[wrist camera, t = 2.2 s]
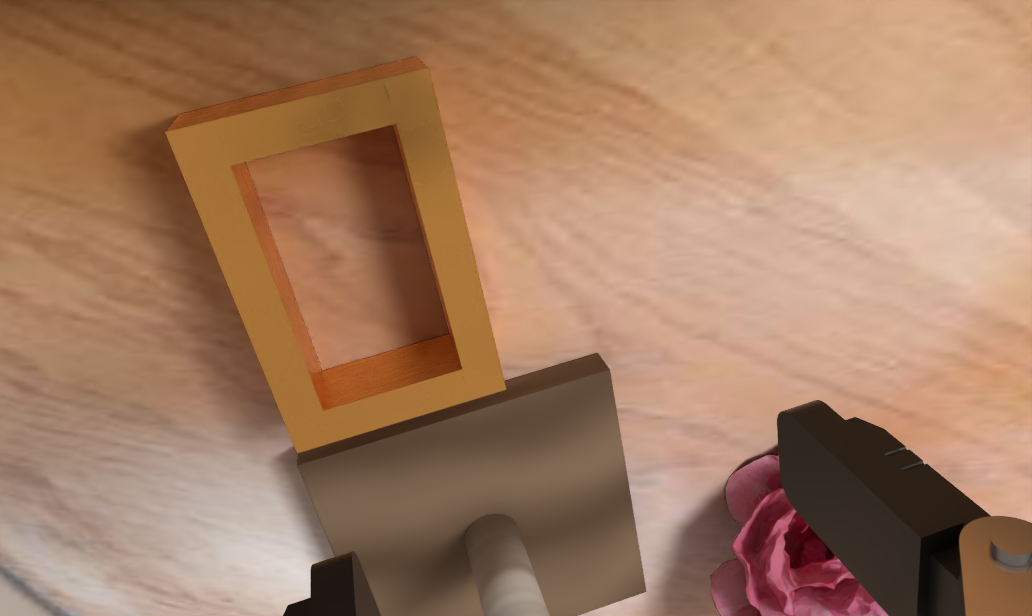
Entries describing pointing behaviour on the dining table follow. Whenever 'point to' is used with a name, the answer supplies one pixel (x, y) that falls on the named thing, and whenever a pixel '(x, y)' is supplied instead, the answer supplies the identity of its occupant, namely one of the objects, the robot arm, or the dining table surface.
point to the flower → (780, 557)
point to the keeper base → (489, 502)
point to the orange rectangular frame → (262, 278)
